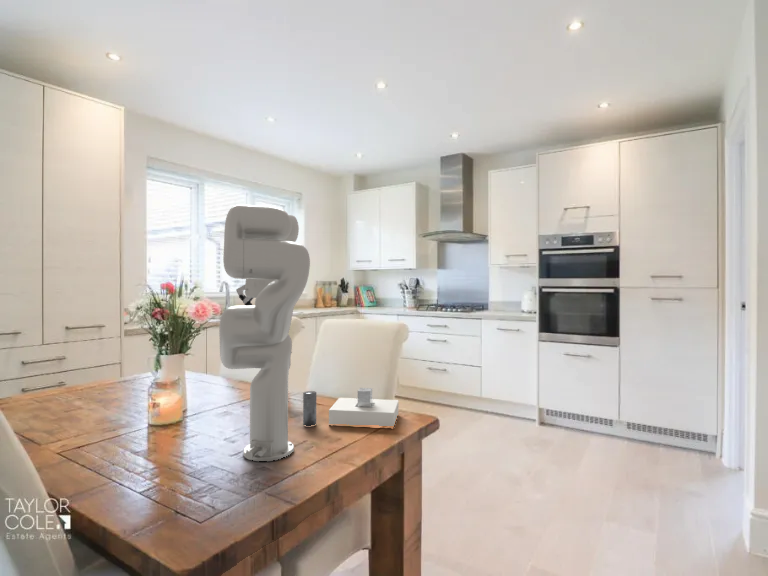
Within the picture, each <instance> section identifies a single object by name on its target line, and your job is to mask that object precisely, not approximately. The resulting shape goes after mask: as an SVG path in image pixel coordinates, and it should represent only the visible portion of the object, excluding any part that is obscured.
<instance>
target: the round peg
mask: <svg viewBox="0 0 768 576" xmlns="http://www.w3.org/2000/svg"><path fill="white" fill-rule="evenodd" d="M302 399H303V400H302V402H303V406H302V407H303V409H302V425H306V426H311V425H315V424H316V425H317V391H313V390H307V391H304V392H303V394H302Z"/></svg>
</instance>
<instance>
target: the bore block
mask: <svg viewBox="0 0 768 576" xmlns="http://www.w3.org/2000/svg"><path fill="white" fill-rule="evenodd" d="M397 415H398V416H399V400H398V399H385V398H384V399H378V398H372V408H367V407H358V397H357V398H356V397H354V398H353V397H338V399H336V401H335V402H334V403H333V405H332V406H331V407H330V408H329V409H328V425H329V424H347V425H348V424H349V425H379V426H394V424H395V421H396V418H397ZM397 419H398V418H397ZM396 422H397V421H396ZM395 425H396V424H395Z"/></svg>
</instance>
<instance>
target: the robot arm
mask: <svg viewBox="0 0 768 576" xmlns="http://www.w3.org/2000/svg"><path fill="white" fill-rule="evenodd" d="M224 221H225V222H224V232H223V233H224V235H223V236H224V237H223V239H224V240H223V254H222V255H223V257H222V258H223V259H222V260H223V268H224V271H225V273H226V274H227V275H228V276H229V277H230V278H232V279H237V280H245V283H244V284H243V285H242V286H240V287H238V288H236V290H235V292H236V294H237V295H238V297H239V299H240V300H241V301H242V303H243V304H244V305H233V306H229V307H227V308H225V309H224V310H223V312H222V313H221V315H220V319H219V327H218V328H219V329H218V330H219V332H218V334H219V353H220V354H219V357H220V361H221V364H222V366H224V367H225V368H227V369H229V370H244V369H246V370H247V369H260V370H259V371H258V372H257V374H256V375H255V376H254V377H253V378H252V381H251V383H250V386H249V444H248V445H246V446H245V447H244V448H243V457H244V458H245V459H247V460H249V461H252V460H253V461H254V462H259V461H267V462H274V461H273V460H275V461H278V459H279V460H282V459H281V458H283V457H285V458H287V457H289V456H290V454H291V453H292V452H294V451H295V445H294V443H293V442H291V441H289V401H288V400H289V371H290V368H289V364H290V357H292V353H291V352H293V351H292V350H293V349H292V348H293V342H292V338H291V335H289V332H290V330H291V324H292V317H293V313H294V308H295V306H296V304H297V302H298V301H299V300H300V298H301V296H302V295H303V292H304V291H305V288H306V286H307V282H308V280H309V275H310V267H311V259H310V253H309V250H308V249H307V248H306V247H305V246H304V245H303V244H301V243H299V242H296V241H297V240H298V237H299V229H300V228H299V222H298V219H297V218H296V216H295V215H292V214H288V212H287V211H285V210H284V209H282V208H281V207H276V206H271V205H254V204H253V205H252V204H236V205H234V206H232V207H231V208H230V209H229V210H228V211H227V215H226V218H225V220H224ZM254 298H255V300H254ZM253 300H254V305H253V303H251V302H252V301H253ZM292 454H293V453H292ZM292 454H291V455H292ZM288 455H289V456H288ZM286 456H287V457H286ZM283 459H284V458H283ZM253 461H252V462H253Z"/></svg>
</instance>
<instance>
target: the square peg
mask: <svg viewBox="0 0 768 576" xmlns="http://www.w3.org/2000/svg"><path fill="white" fill-rule="evenodd" d="M357 398H358V407H367V408H372V399H373V388H371V387H359V388H358V390H357Z"/></svg>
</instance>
